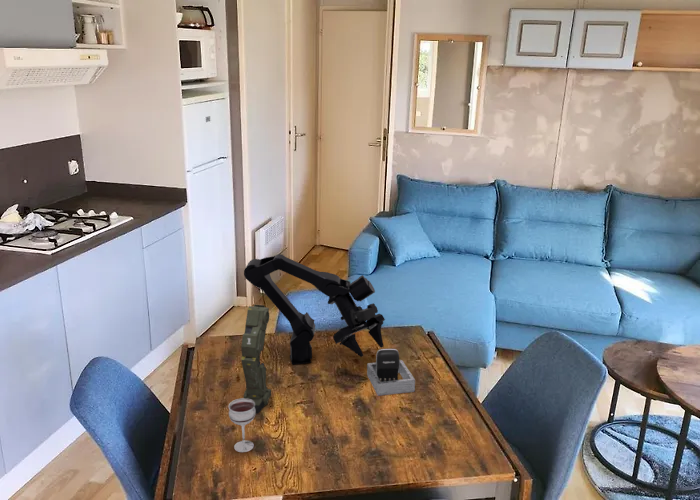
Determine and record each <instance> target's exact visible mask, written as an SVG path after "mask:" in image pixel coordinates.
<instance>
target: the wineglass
mask: <svg viewBox="0 0 700 500" xmlns="http://www.w3.org/2000/svg"><path fill="white" fill-rule="evenodd" d="M254 406H255V402H254V401H253V400H251V399H248V398H243V397H242V398H236V399H234V400H232V401H230V403H229V404H228V409H229V410H228V417H229V420H230V421H231V422H232V423H233V424H235V425H236V426H237V425H238V426H241V434H242V435H241V437H242V440H240V441H238V442H236V443H235V444H234V446H233V448H234V450H235V451H236V452H239V453H247V452H249V451H251V450H253V449H254V442H253V441H250V440H246V439H245V438H246V437H245V436H246V435H245V433H246V432H245V431H246V430H245V426H246V425H249V424H250V423H251V422H252V421H253V420H254V419H255V417H256V415H257V413H256V409H255V407H254Z"/></svg>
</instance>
